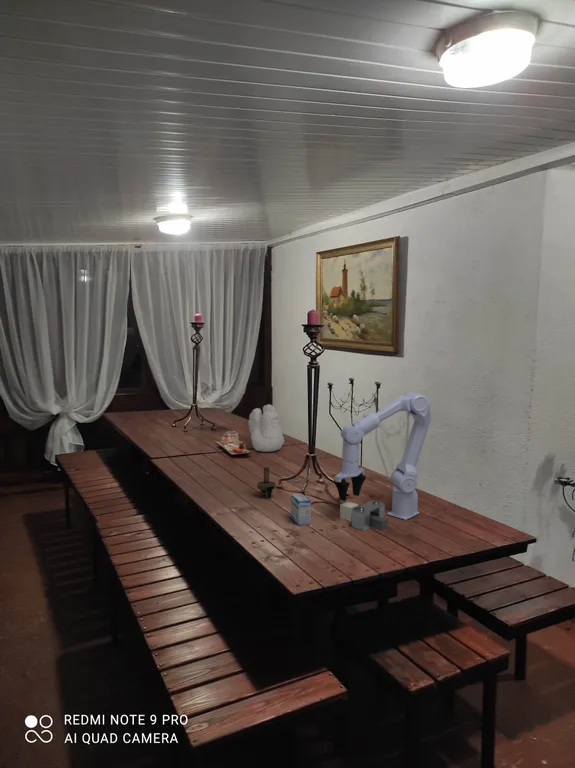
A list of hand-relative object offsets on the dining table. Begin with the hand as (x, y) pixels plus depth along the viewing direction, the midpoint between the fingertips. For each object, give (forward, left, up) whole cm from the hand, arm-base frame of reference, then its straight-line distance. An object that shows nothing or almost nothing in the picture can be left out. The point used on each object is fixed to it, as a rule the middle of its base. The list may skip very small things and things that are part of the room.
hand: (349, 497), depth 196 cm
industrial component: (+4, -38, -8) cm, 39 cm away
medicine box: (+14, -10, -8) cm, 19 cm away
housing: (0, +8, -7) cm, 11 cm away
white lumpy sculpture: (-50, -92, -8) cm, 105 cm away
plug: (0, +6, -8) cm, 10 cm away
